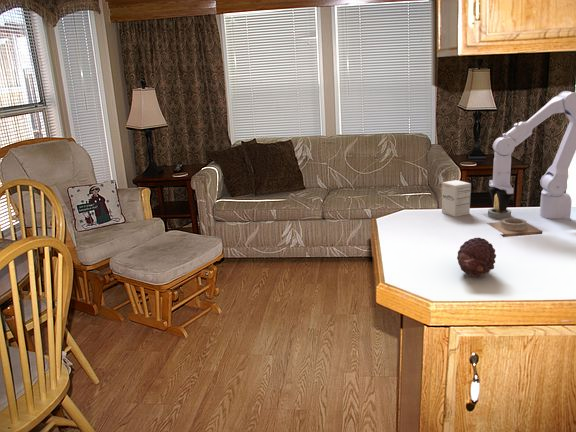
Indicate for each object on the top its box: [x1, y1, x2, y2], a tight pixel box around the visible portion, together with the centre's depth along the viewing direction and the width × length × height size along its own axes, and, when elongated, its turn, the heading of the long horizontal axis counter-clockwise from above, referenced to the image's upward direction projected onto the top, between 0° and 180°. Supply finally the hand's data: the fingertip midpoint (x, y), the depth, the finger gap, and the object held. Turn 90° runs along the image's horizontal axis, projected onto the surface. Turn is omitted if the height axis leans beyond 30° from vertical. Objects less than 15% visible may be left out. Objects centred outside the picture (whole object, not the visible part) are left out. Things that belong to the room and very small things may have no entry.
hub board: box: [486, 217, 543, 238], centre depth 185 cm, size 13×13×3 cm
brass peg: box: [493, 194, 506, 213], centre depth 197 cm, size 4×4×8 cm
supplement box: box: [441, 179, 472, 217], centre depth 203 cm, size 7×7×13 cm
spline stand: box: [482, 207, 516, 222], centre depth 198 cm, size 9×9×3 cm
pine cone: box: [456, 237, 497, 278], centre depth 149 cm, size 18×10×10 cm, turn 160°
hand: (499, 209), depth 197 cm, fingers closed on brass peg, 4 cm apart
